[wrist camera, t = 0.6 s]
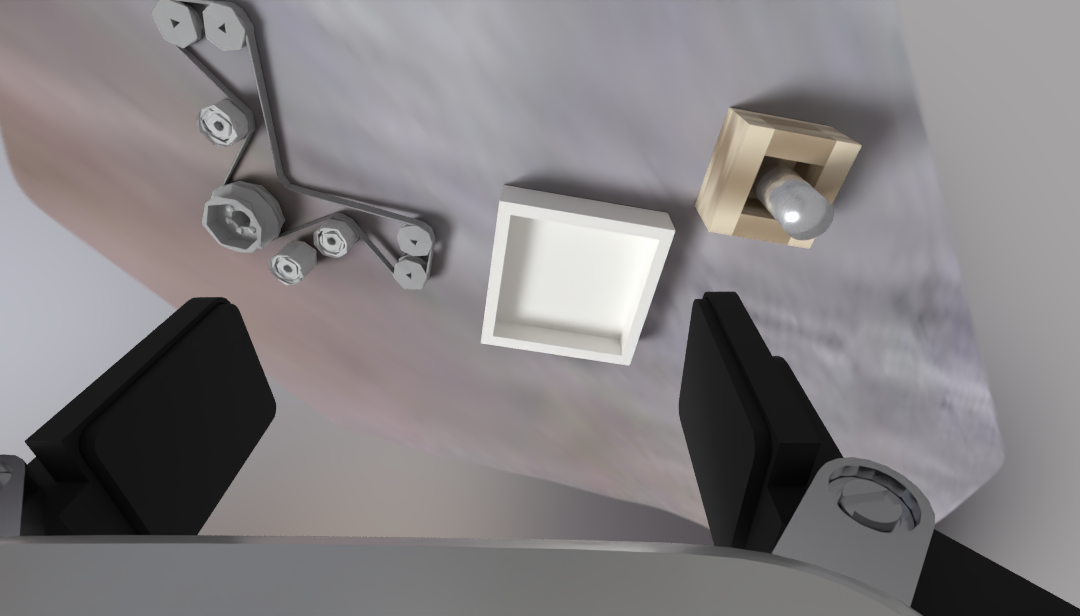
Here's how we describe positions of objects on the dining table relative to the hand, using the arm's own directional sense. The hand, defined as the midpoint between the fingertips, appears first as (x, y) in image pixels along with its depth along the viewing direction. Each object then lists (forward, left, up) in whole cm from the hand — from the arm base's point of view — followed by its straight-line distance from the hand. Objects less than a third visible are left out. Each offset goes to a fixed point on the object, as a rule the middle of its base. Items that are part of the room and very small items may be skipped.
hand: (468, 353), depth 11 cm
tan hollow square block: (+4, +19, -33) cm, 38 cm away
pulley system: (+12, -19, -34) cm, 40 cm away
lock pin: (+4, +19, -32) cm, 37 cm away
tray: (+16, +6, -33) cm, 37 cm away
